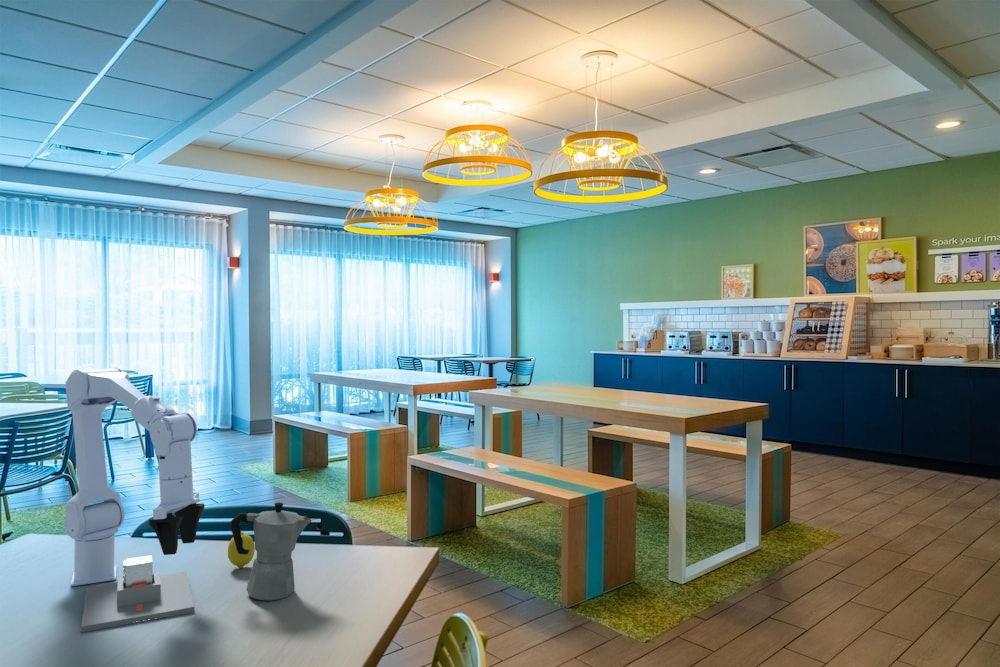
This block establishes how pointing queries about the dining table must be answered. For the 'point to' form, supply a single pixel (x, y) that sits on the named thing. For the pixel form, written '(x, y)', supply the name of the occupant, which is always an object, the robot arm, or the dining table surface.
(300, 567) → the dining table surface
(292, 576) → the coffeepot
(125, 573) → the white rectangular block
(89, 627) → the jack base
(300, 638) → the dining table surface
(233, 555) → the lemon
